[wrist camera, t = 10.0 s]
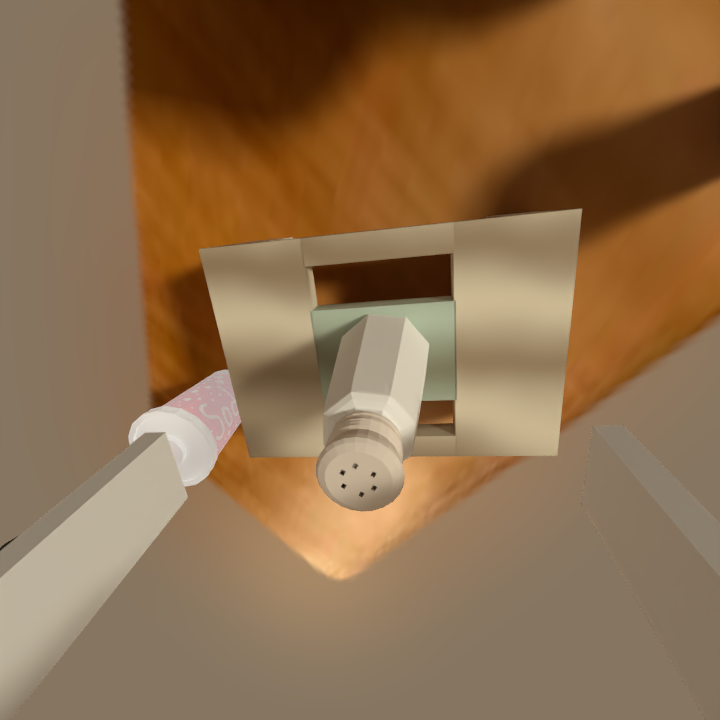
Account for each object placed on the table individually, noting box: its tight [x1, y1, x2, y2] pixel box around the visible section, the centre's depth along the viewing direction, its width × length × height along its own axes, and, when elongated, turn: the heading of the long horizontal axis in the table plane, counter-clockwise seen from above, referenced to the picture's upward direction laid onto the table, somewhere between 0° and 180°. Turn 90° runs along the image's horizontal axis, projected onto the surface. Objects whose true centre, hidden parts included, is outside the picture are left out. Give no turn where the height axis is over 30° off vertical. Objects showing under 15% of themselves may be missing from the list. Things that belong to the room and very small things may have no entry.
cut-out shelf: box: [199, 209, 582, 457], centre depth 25 cm, size 14×20×8 cm
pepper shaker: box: [316, 314, 429, 511], centre depth 16 cm, size 5×5×11 cm
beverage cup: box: [128, 370, 241, 486], centre depth 27 cm, size 6×6×14 cm
